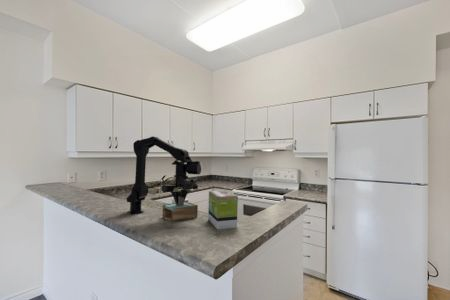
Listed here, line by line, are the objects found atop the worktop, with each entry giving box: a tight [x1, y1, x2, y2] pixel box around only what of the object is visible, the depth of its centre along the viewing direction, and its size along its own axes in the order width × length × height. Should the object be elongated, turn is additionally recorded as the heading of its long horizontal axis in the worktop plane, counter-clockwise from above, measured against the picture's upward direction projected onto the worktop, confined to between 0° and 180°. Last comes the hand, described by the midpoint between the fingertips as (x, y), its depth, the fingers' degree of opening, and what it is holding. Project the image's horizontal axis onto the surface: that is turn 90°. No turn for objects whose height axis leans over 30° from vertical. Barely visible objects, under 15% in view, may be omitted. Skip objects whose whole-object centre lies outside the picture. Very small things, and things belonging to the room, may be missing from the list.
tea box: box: [207, 190, 239, 230], centre depth 98 cm, size 15×10×15 cm
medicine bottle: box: [171, 189, 189, 204], centre depth 117 cm, size 7×7×12 cm
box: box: [162, 201, 199, 223], centre depth 106 cm, size 11×14×6 cm
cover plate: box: [164, 197, 193, 211], centre depth 106 cm, size 9×12×5 cm
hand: (179, 203), depth 106 cm, fingers closed on cover plate, 3 cm apart
